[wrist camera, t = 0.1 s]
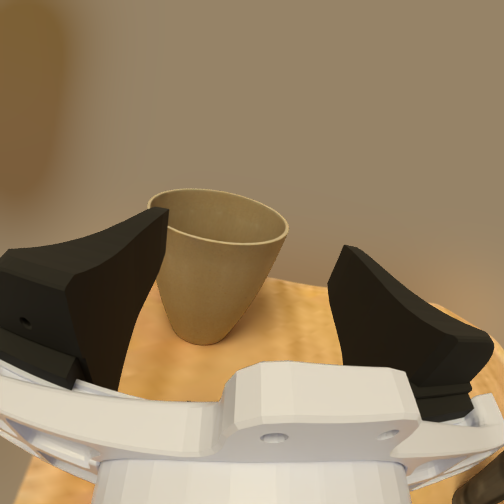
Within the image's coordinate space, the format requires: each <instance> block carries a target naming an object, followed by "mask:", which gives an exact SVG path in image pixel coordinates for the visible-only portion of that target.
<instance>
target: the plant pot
mask: <svg viewBox="0 0 504 504" xmlns="http://www.w3.org/2000/svg"><path fill="white" fill-rule="evenodd" d="M152 207H161V208H167V209H169V219H168V229H167V241H166V253H165V256H164V259H163V262H162V265H161V268H160V271H159V273H158V275H157V277H156V281H157V285H158V288H159V292H160V296H161V299H162V302H163V305H164V308H165V311H166V313H167V316H168V318H169V321H170V323H171V325H172V328H173V330H174V331H175V333H176V334H177V335H178V336H179V337H180V338H182V339H183V340H185V341H187V342H190V343H193V344H198V345H209V344H214V343H217V342H219V341H220V340H222V339H223V338H224V337H225V336H226V335H227V334H228V333H229V332H230V330H231V329H232V328H233V327H234V326H235V324H236V323H237V322H238V321H239V319H240V318H241V317H242V315H243V314H244V313H245V311H246V310H247V308H248V307H249V305H250V304H251V302H252V301H253V299H254V298H255V296H256V295H257V293H258V291H259V290H260V288H261V286H262V285H263V283H264V281H265V279H266V278H267V276H268V273H269V272H270V270H271V268H272V266H273V264H274V262H275V260H276V257H277V256H278V253H279V251H280V249H281V247H282V245H283V243H284V240H285V238H286V236H287V234H288V231H289V226H288V223H287V221H286V220H285V218H284V217H283V216H282V215H280V214H279V213H278V212H276V211H275V210H273V209H272V208H270V207H268V206H266V205H264V204H262V203H260V202H258V201H255V200H253V199H250V198H247V197H244V196H240V195H237V194H232V193H228V192H223V191H217V190H209V189H176V190H170V191H165V192H162V193H160V194H157V195H155V196H154V197H152V198H151V199H150V200H149V202H148V205H147V208H148V209H149V208H152Z"/></svg>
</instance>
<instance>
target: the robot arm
mask: <svg viewBox="0 0 504 504" xmlns="http://www.w3.org/2000/svg"><path fill="white" fill-rule="evenodd" d="M168 219H169V209H167V208H161V207H152V208H149V209H147V210H145V211H143V212H141V213H139V214H137V215H135V216H133V217H131V218H129V219H127V220H125V221H124V222H121V223H119V224H116V225H114V226H112V227H110V228H108V229H105V230H103V231H100V232H98V233H95V234H92V235H89V236H86V237H83V238H79V239H75V240H71V241H67V242H63V243H59V244H53V245H48V246H41V247H32V248H18V249H8V250H7V251H6V252H5V253H4V255H2V257H1V258H0V436H2V437H3V438H5V439H7V440H8V441H10V442H11V443H14V444H15V445H16V446H18V447H20V448H21V449H23V450H25V451H27V452H28V453H30V454H32V455H34V456H35V457H37V458H39V459H41V460H43V461H45V462H47V463H49V464H51V465H53V466H55V467H57V468H59V469H61V470H63V471H65V472H67V473H70V474H72V475H74V476H76V477H79V478H81V479H83V480H86V481H88V482H91V483H93V484H95V488H94V492H93V497H92V502H91V504H412V502H411V497H410V492H411V491H414V490H417V489H420V488H422V487H425V486H428V485H431V484H434V483H436V482H439V481H442V480H444V479H447V478H449V477H452V476H454V475H457V474H459V473H462V472H464V471H467V470H469V469H471V468H472V467H474V466H475V465H477V464H479V463H480V462H482V461H483V460H485V459H486V458H488V457H489V456H491V455H492V454H493V453H495V452H496V451H498V450H499V449H500V448H502V447H503V446H504V420H503V417H502V415H501V412H500V410H499V408H498V406H497V403H496V401H495V399H494V397H493V395H492V393H488V394H483V395H478V396H475V397H473V398H472V399H470V397H469V394H468V393H469V392H470V391H472V387H471V385H470V381H471V380H472V379H473V378H474V377H475V376H476V375H477V374H478V373H479V372H480V371H481V369H482V368H483V367H484V366H485V365H486V364H487V362H488V361H489V359H490V358H491V356H492V354H493V350H494V343H493V341H492V339H491V338H490V336H489V335H488V334H487V333H486V332H485V331H482V330H480V329H477V328H475V327H472V326H470V325H467V324H465V323H463V322H461V321H459V320H457V319H455V318H453V317H451V316H449V315H447V314H445V313H443V312H442V311H440V310H438V309H437V308H435V307H433V306H432V305H430V304H428V303H427V302H425V301H424V300H422V299H421V298H420V297H418V296H417V295H415V294H414V293H413V292H411V291H410V290H408V289H407V288H406V287H405V286H403V285H402V284H401V283H400V282H399V281H397V280H396V279H395V278H394V277H393V276H392V275H390V274H389V273H388V272H387V271H386V270H385V269H383V268H382V267H381V266H380V265H379V264H378V263H377V262H375V261H374V260H373V259H372V258H371V257H369V256H368V255H367V254H365V253H364V252H363V251H362V250H360V249H358V248H357V247H353V246H348V245H344V246H343V248H342V251H341V253H340V256H339V258H338V260H337V263H336V265H335V267H334V269H333V272H332V274H331V277H330V279H329V281H328V283H327V284H328V295H329V303H330V307H331V311H332V315H333V319H334V322H335V326H336V330H337V334H338V338H339V342H340V346H341V351H342V358H343V365H332V364H319V363H308V362H298V361H288V360H287V361H262V362H260V363H257V364H254V365H251V366H248V367H246V368H243V369H240V370H238V371H236V373H235V374H234V375H233V376H232V377H231V378H230V379H229V380H228V382H227V383H226V384H225V387H224V390H223V394H222V397H221V399H220V400H219V402H180V401H157V400H147V399H143V398H139V397H135V396H131V395H128V394H124V393H120V392H118V386H119V382H120V377H121V373H122V369H123V365H124V361H125V357H126V353H127V350H128V346H129V342H130V339H131V336H132V333H133V329H134V326H135V323H136V320H137V318H138V315H139V313H140V311H141V308H142V306H143V304H144V302H145V300H146V298H147V296H148V294H149V292H150V290H151V288H152V286H153V284H154V282H155V280H156V277H157V275H158V273H159V271H160V268H161V265H162V262H163V259H164V256H165V253H166V241H167V229H168Z"/></svg>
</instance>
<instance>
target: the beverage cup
mask: <svg viewBox="0 0 504 504" xmlns="http://www.w3.org/2000/svg"><path fill="white" fill-rule="evenodd" d="M503 500H504V451H503V452H502V453H500V454H499V455H498V456H497V457H496V458H495V459H494V460H493V461H492V462H491V463H489V464H488V465H487V466H486V467H485V468H484V469H483V470H481V471H480V472H479V473H478V474H477V475H475V476H474V477H473V478H472V479H470V480H469V481H468V482H467V483H465V484H464V485H463V486H462V487H461V488H459V489H458V490H457V491H456V492H455V494H454V496H453V499H452V504H497V503H499V502H501V501H503Z"/></svg>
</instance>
